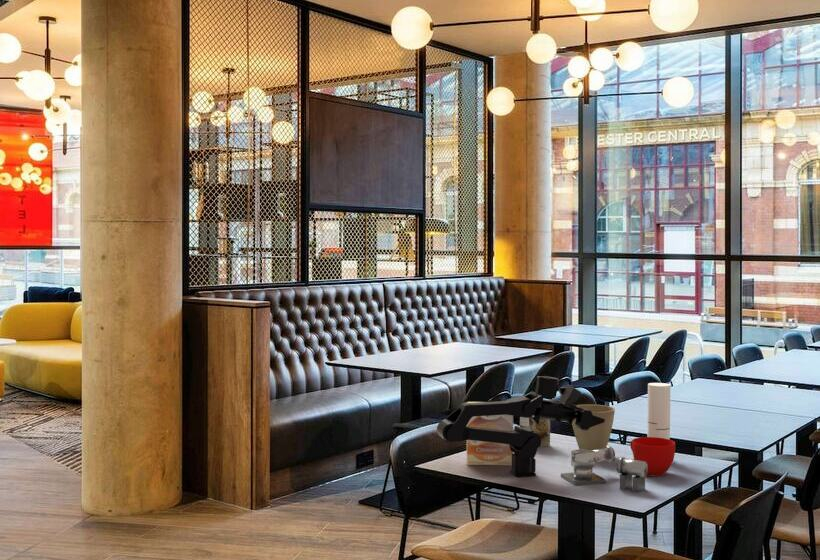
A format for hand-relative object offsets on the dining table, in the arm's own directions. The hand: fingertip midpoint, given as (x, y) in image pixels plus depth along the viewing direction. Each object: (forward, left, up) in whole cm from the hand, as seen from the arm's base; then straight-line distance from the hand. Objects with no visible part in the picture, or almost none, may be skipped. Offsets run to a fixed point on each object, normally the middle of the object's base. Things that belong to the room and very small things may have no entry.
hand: (597, 417), depth 278 cm
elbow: (-7, -10, -12) cm, 17 cm away
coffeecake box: (-30, +16, -17) cm, 38 cm away
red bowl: (+14, -8, -17) cm, 23 cm away
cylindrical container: (+25, +5, -17) cm, 30 cm away
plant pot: (+7, +17, -17) cm, 25 cm away
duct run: (-1, -24, -16) cm, 29 cm away
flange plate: (-10, -11, -16) cm, 22 cm away
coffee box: (-6, +35, -17) cm, 39 cm away
